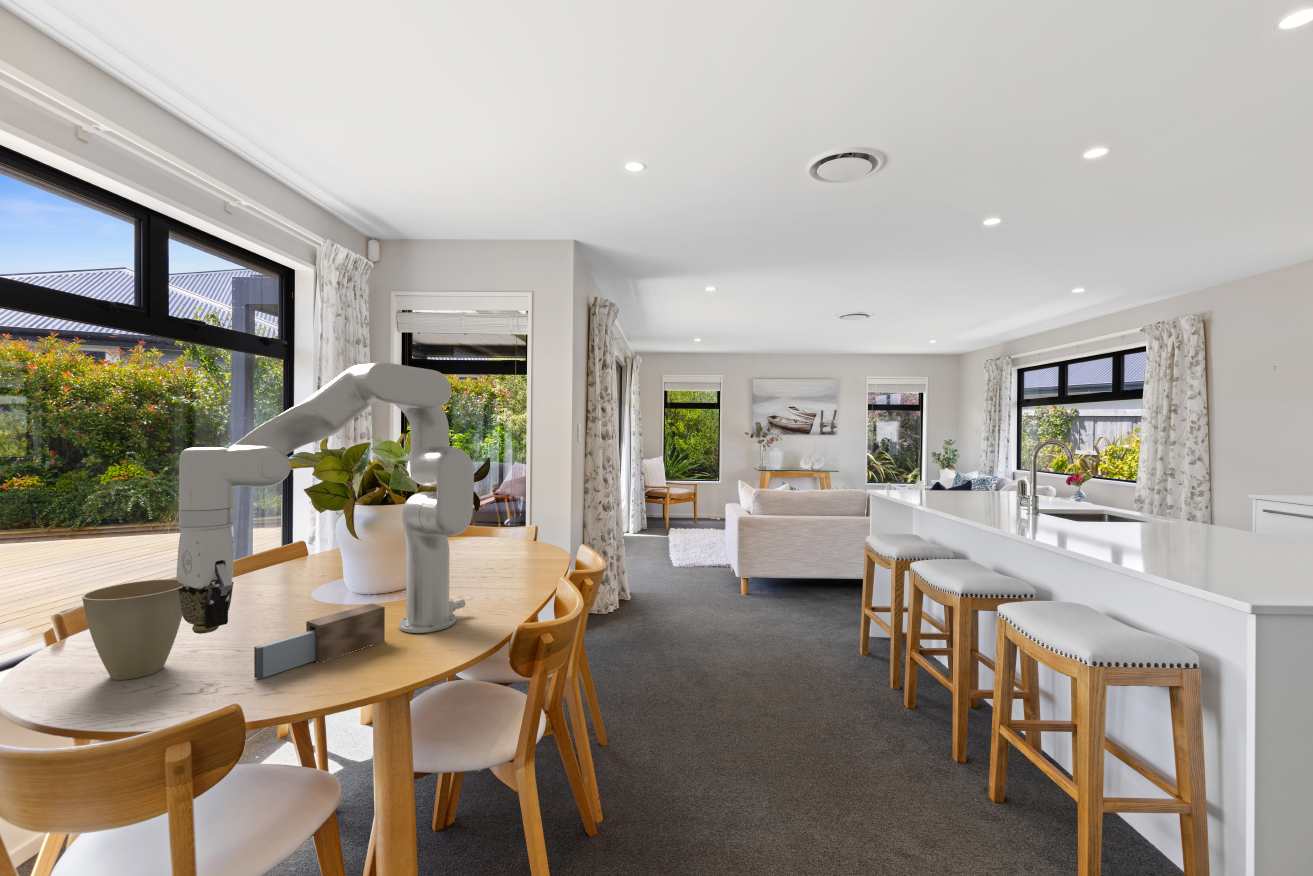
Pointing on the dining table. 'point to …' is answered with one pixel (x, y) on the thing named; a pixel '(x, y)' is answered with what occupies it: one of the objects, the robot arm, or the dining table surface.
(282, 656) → the gray rectangular panel
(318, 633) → the dark brown rectangular beam
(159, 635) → the plant pot
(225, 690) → the dining table surface
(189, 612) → the cup
